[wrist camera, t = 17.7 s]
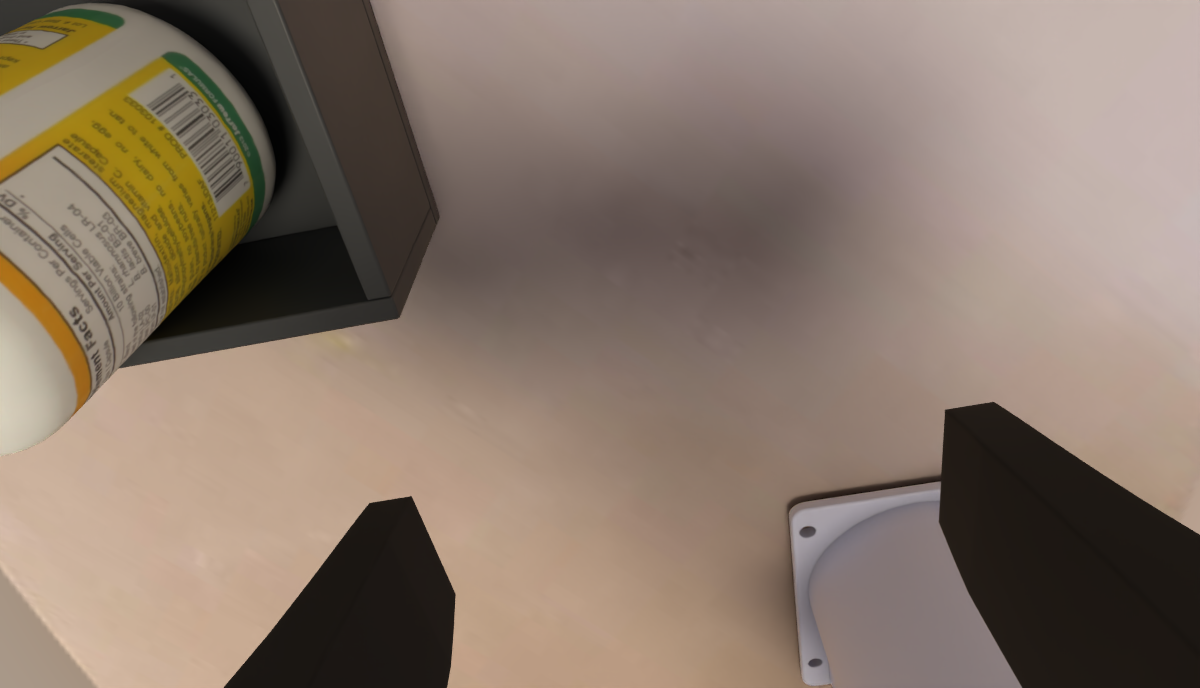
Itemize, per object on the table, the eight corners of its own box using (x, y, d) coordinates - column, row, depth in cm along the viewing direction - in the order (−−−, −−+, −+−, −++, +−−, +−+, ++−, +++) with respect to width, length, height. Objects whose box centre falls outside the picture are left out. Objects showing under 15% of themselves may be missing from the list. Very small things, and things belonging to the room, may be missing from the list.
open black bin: (440, 217, 19) (400, 319, 15) (35, 294, 20) (-111, 410, 16) (196, -530, 12) (-11, -743, 8) (-407, -361, 13) (-886, -470, 9)
